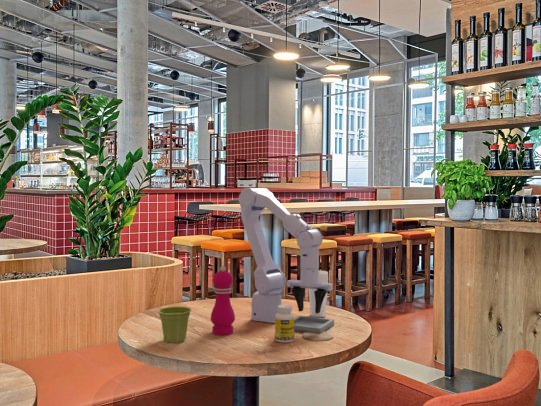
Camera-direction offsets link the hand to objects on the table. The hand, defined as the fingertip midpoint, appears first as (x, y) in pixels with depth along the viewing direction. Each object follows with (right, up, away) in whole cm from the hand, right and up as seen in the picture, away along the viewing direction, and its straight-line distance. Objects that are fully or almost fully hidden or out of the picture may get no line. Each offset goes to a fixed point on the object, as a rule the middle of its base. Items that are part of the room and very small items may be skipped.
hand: (309, 311), depth 164 cm
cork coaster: (+2, -5, -10) cm, 11 cm away
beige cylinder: (+4, -5, +15) cm, 16 cm away
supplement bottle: (-8, -6, -14) cm, 17 cm away
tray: (0, -5, 0) cm, 5 cm away
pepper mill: (-26, -5, -6) cm, 27 cm away
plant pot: (-39, -6, -14) cm, 42 cm away
